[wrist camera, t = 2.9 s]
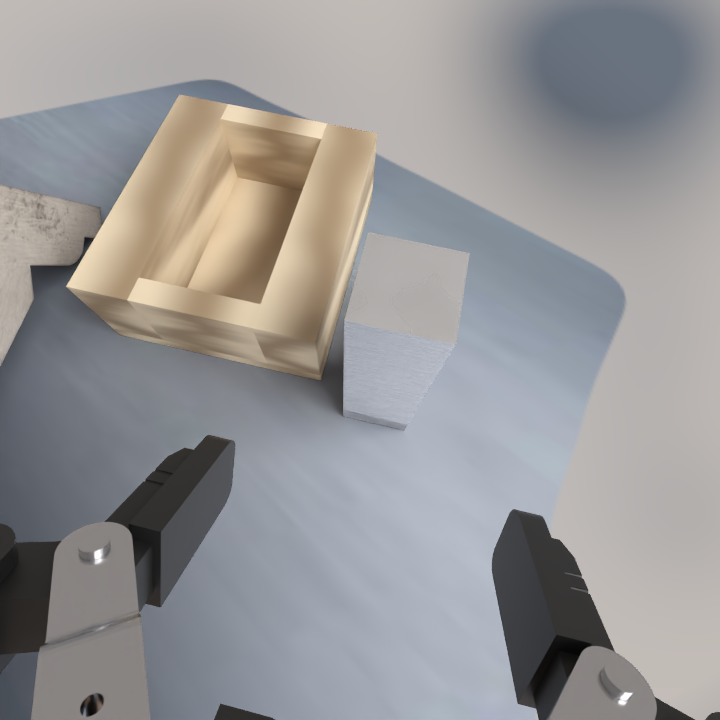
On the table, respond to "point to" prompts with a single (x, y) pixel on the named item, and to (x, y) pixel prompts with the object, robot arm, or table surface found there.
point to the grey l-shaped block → (399, 327)
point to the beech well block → (234, 236)
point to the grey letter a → (35, 247)
